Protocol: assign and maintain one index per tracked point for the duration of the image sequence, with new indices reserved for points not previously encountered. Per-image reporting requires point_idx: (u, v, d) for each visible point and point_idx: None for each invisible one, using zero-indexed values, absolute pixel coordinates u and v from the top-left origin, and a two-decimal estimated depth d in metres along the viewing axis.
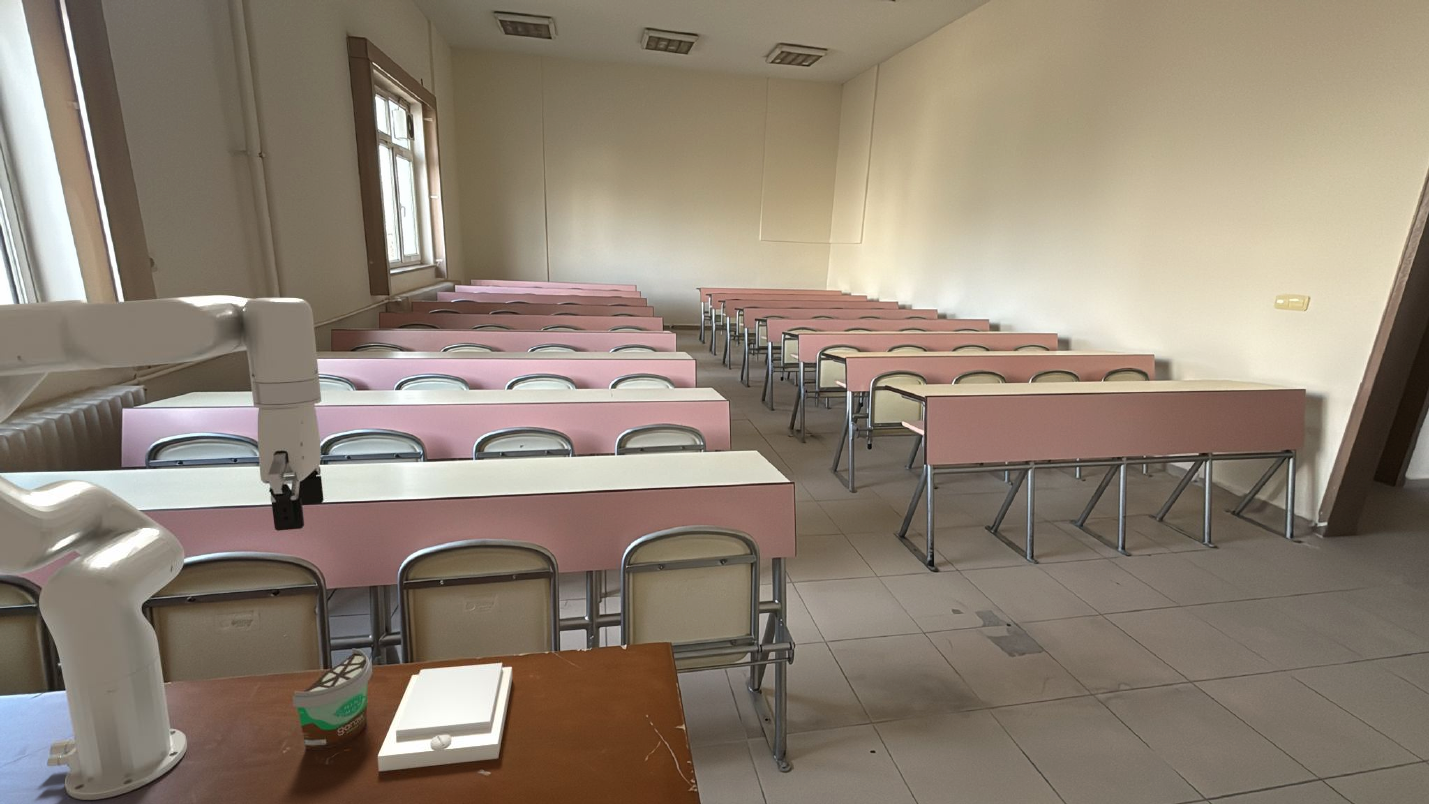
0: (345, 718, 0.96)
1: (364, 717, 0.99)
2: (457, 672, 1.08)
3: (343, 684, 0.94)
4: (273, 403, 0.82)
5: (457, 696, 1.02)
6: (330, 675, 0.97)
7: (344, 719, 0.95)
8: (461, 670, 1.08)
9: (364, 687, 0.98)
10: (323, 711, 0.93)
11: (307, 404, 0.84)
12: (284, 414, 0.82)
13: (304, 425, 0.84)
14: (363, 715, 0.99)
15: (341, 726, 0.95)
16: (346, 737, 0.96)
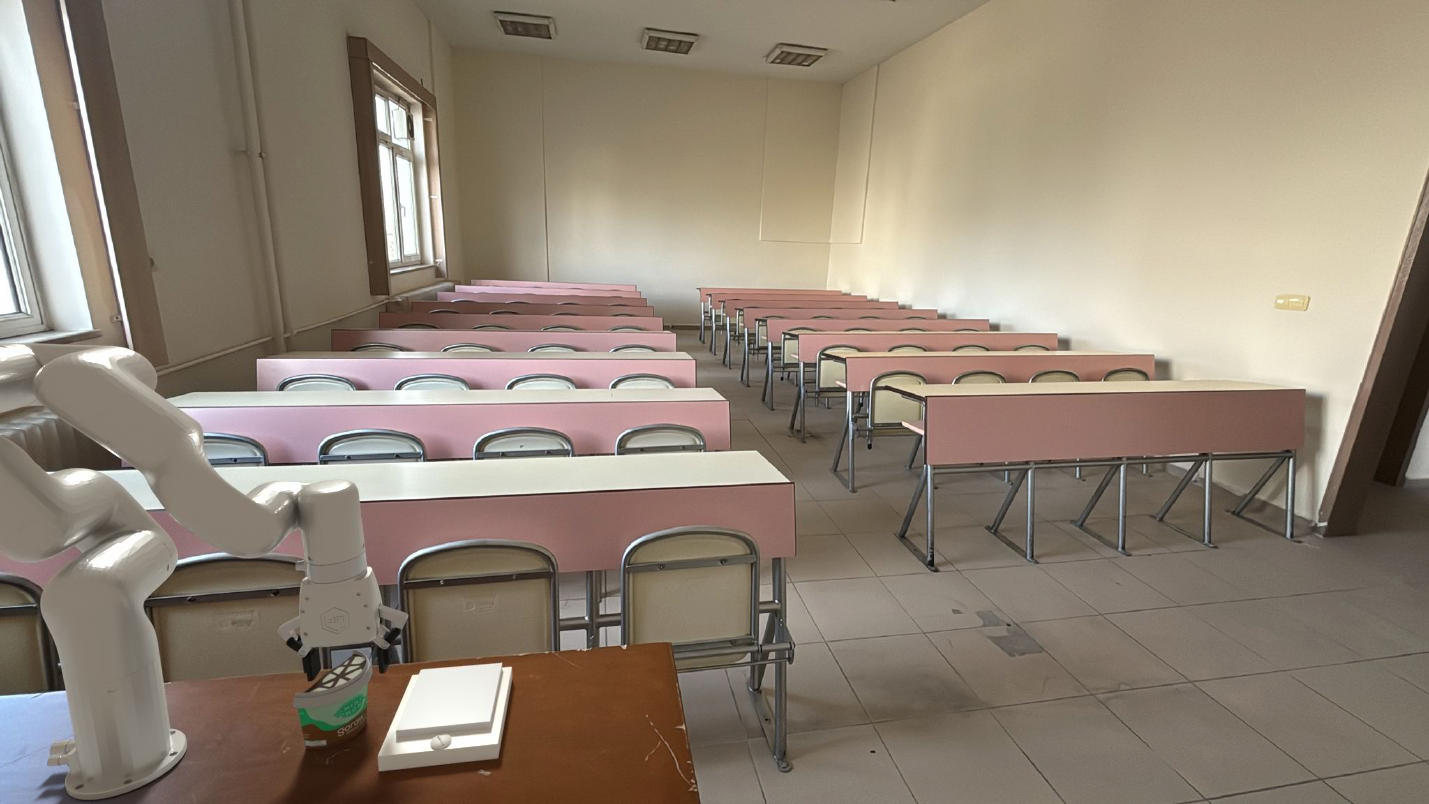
0: (345, 719, 0.96)
1: (364, 718, 0.99)
2: (457, 672, 1.08)
3: (343, 685, 0.94)
4: (364, 570, 0.94)
5: (457, 696, 1.02)
6: (330, 676, 0.97)
7: (344, 720, 0.95)
8: (461, 670, 1.08)
9: (364, 688, 0.99)
10: (323, 712, 0.93)
11: None
12: (373, 573, 0.96)
13: None
14: (363, 716, 0.99)
15: (342, 727, 0.95)
16: (346, 738, 0.96)
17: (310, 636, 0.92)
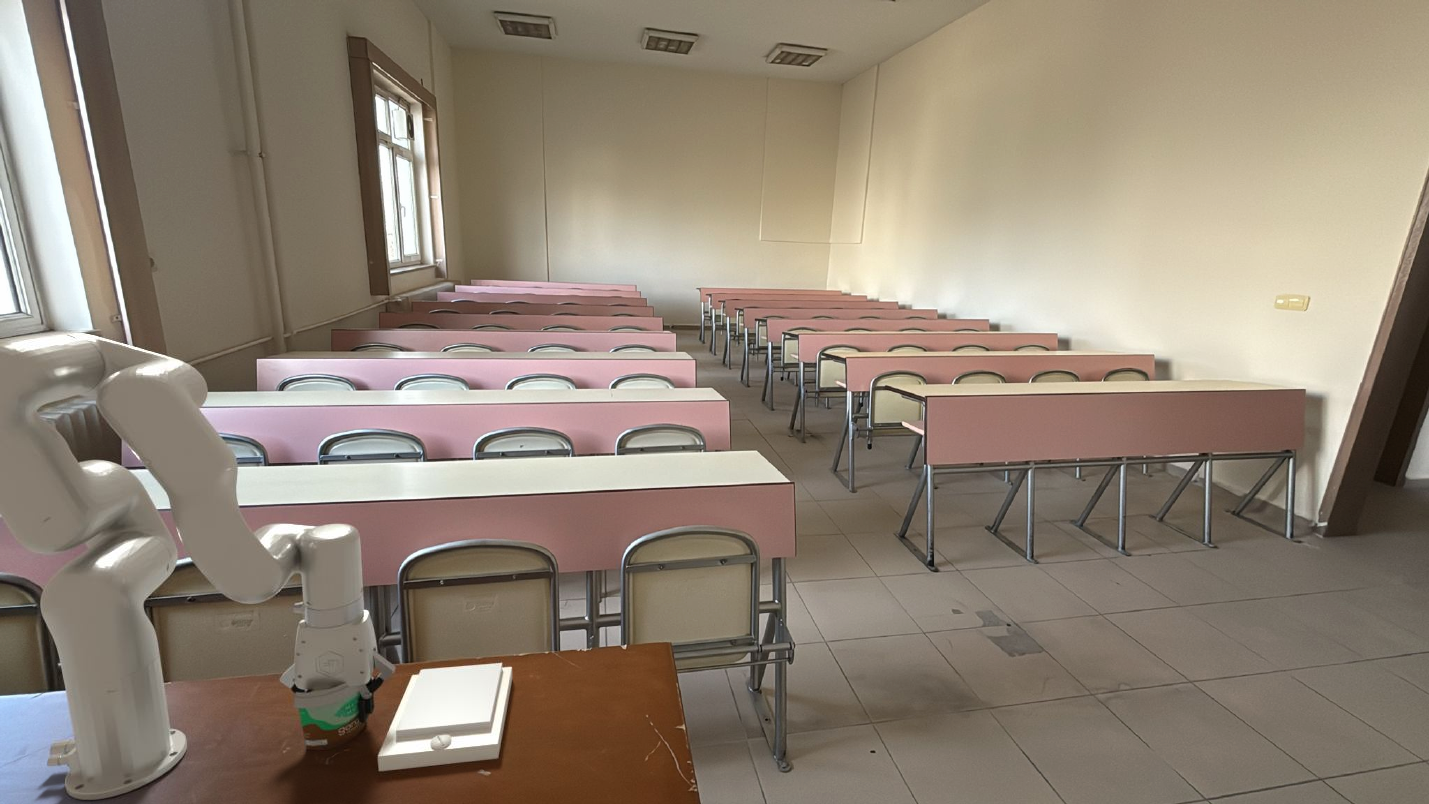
0: (346, 719, 0.96)
1: None
2: (457, 672, 1.08)
3: (345, 684, 0.94)
4: (361, 614, 0.95)
5: (457, 696, 1.02)
6: None
7: (345, 719, 0.95)
8: (461, 670, 1.08)
9: None
10: (325, 712, 0.93)
11: None
12: (369, 617, 0.97)
13: None
14: None
15: (342, 726, 0.95)
16: (347, 737, 0.96)
17: (304, 679, 0.93)
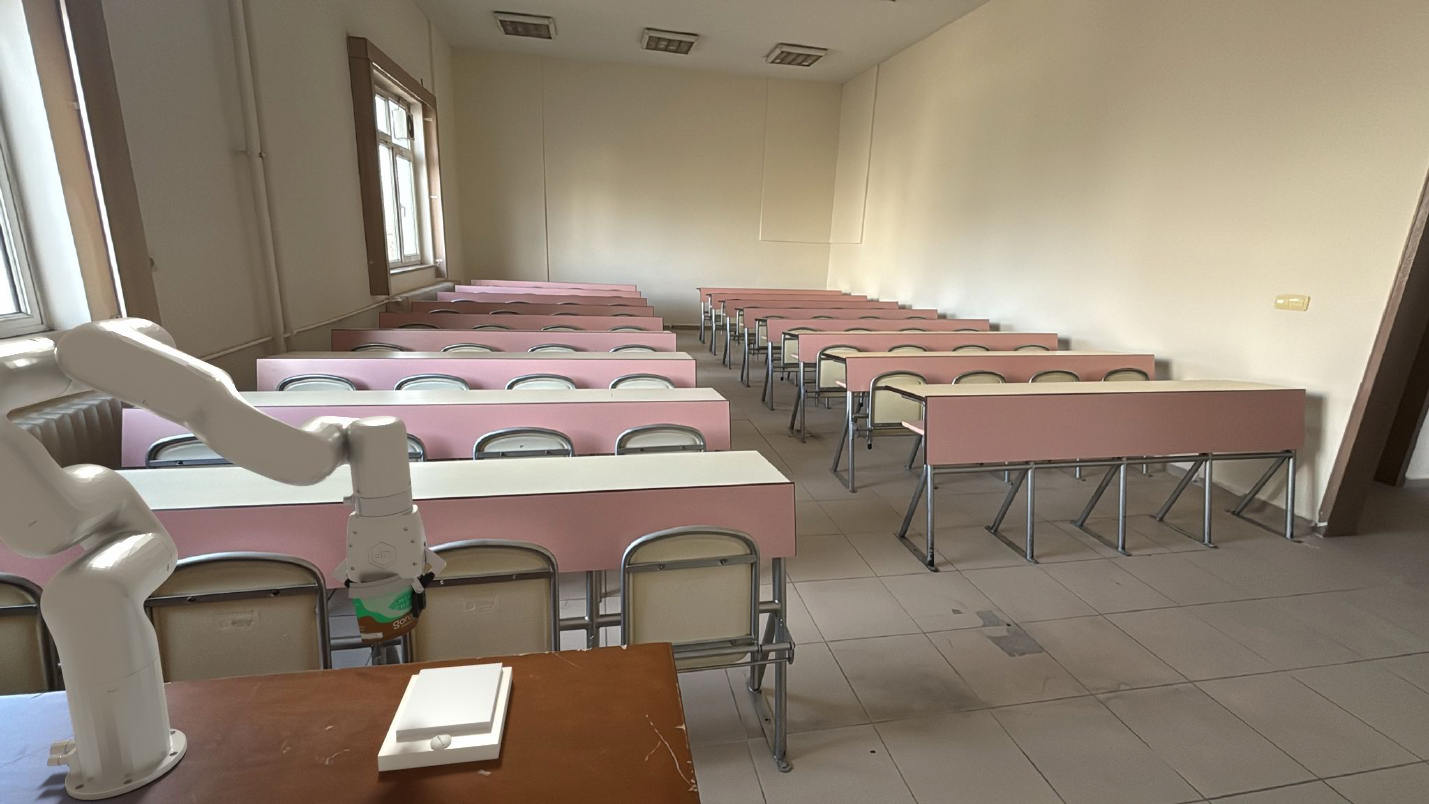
0: (400, 612, 0.95)
1: None
2: (457, 672, 1.08)
3: (397, 576, 0.93)
4: (410, 506, 0.94)
5: (457, 696, 1.02)
6: None
7: (399, 613, 0.95)
8: (461, 670, 1.08)
9: None
10: (379, 603, 0.93)
11: None
12: (418, 511, 0.96)
13: None
14: None
15: (397, 620, 0.95)
16: (401, 631, 0.96)
17: (357, 571, 0.92)
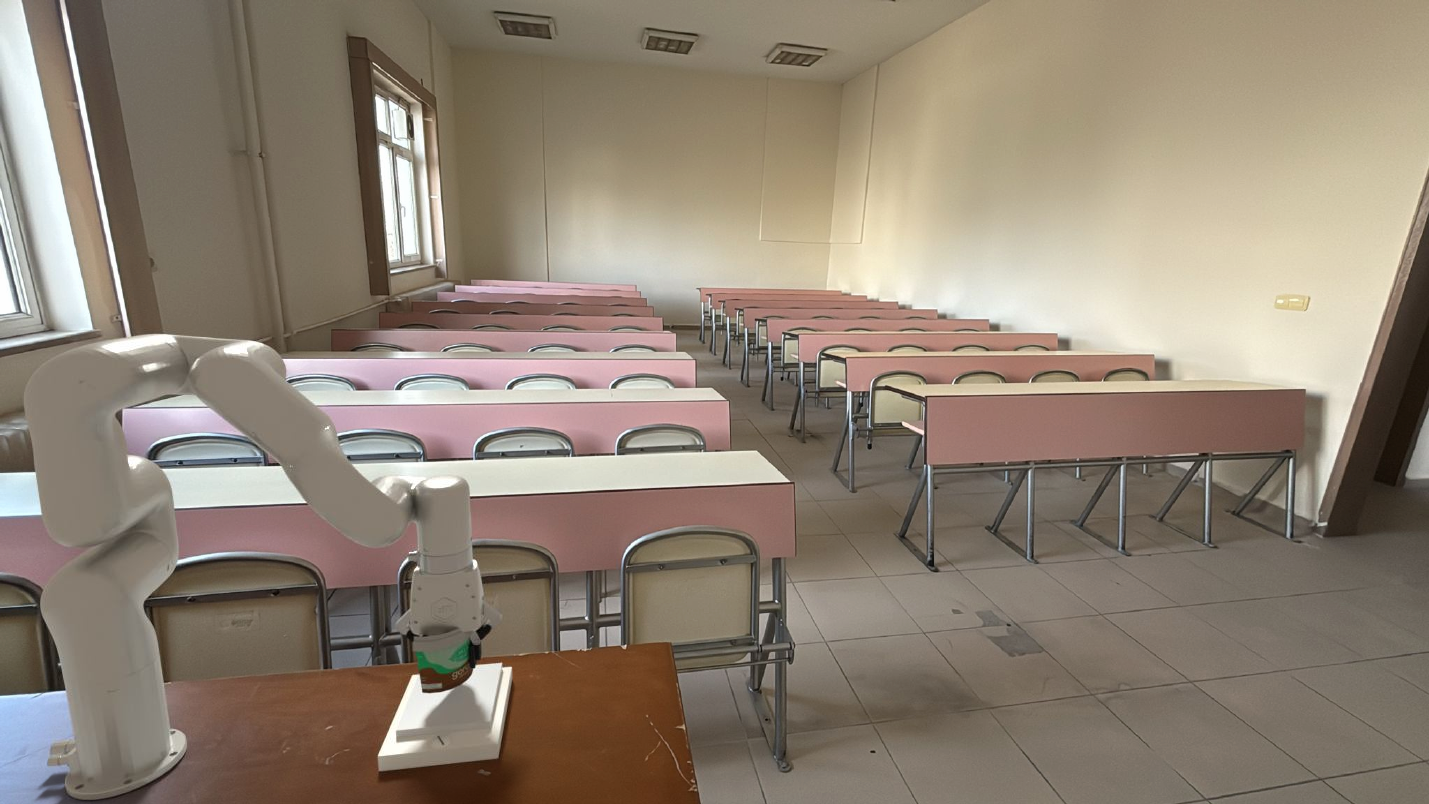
0: (459, 663, 0.99)
1: None
2: None
3: (458, 630, 0.97)
4: (471, 562, 0.98)
5: (457, 696, 1.02)
6: None
7: (458, 664, 0.99)
8: None
9: None
10: (440, 656, 0.97)
11: None
12: None
13: None
14: None
15: (456, 671, 0.99)
16: (459, 681, 1.00)
17: (420, 624, 0.96)
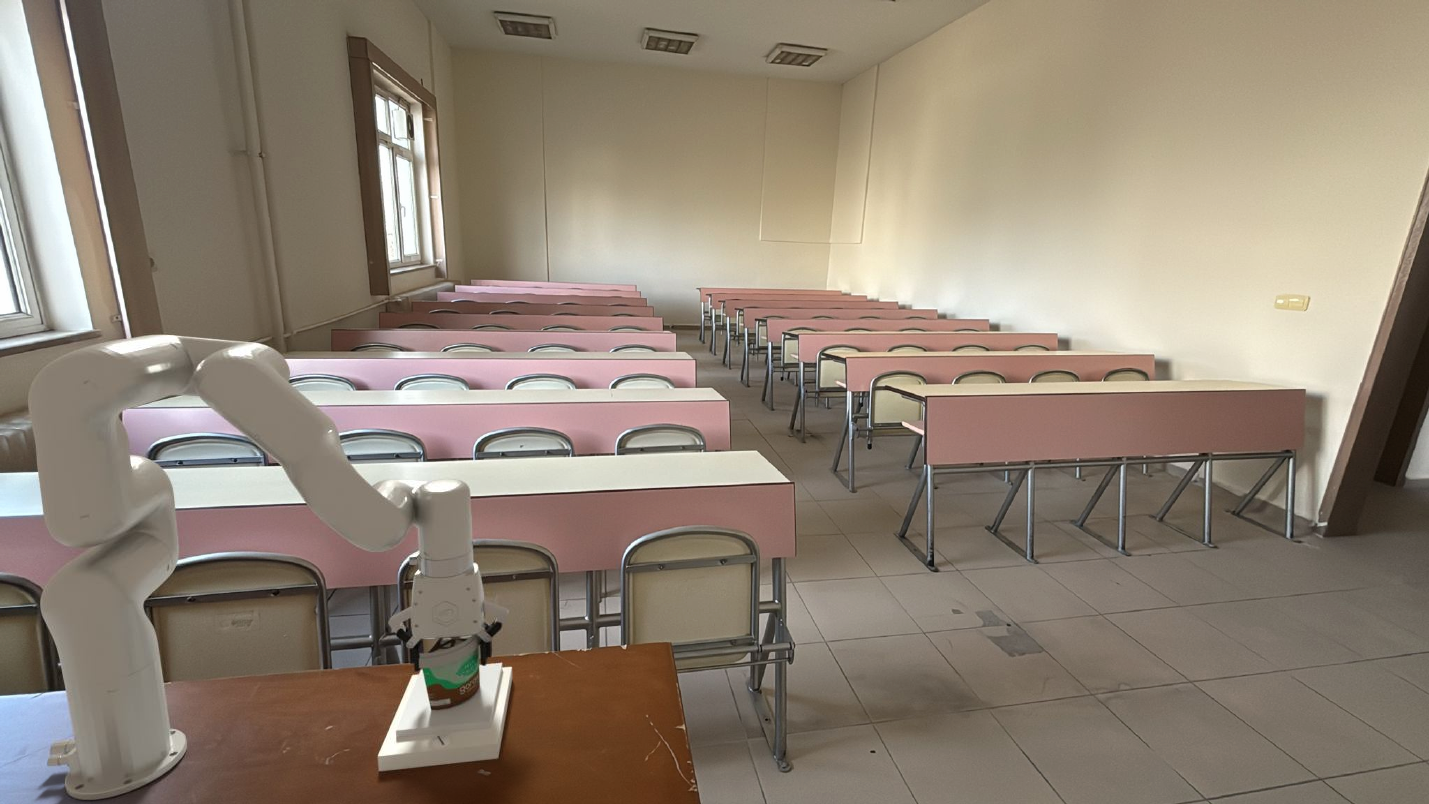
0: (465, 678, 1.00)
1: (479, 677, 1.04)
2: None
3: (463, 643, 0.98)
4: (472, 566, 0.98)
5: None
6: (445, 638, 1.01)
7: (465, 678, 0.99)
8: None
9: (478, 648, 1.03)
10: (447, 671, 0.97)
11: None
12: None
13: None
14: (478, 675, 1.03)
15: (463, 685, 0.99)
16: (467, 696, 1.00)
17: (421, 628, 0.97)
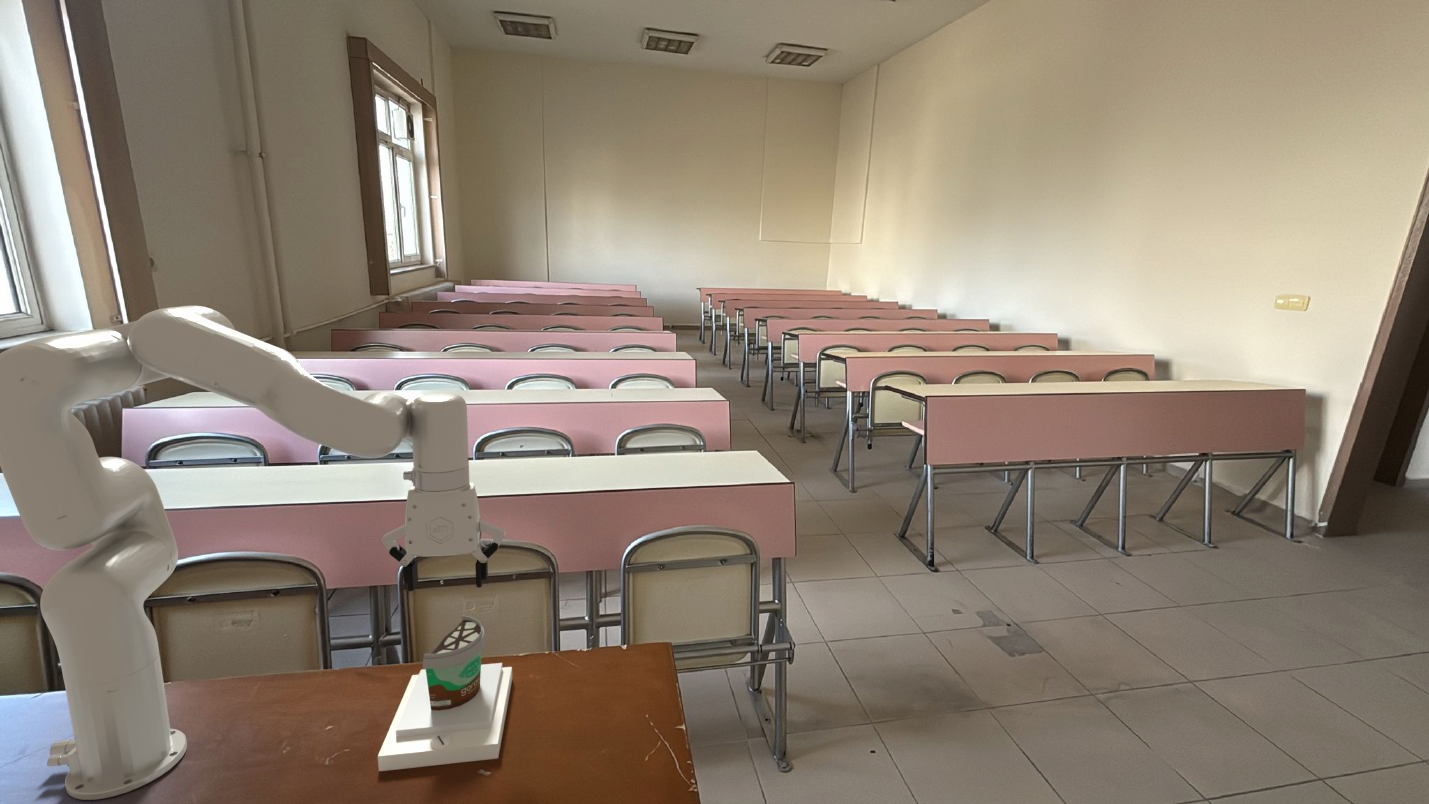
0: (467, 680, 1.00)
1: (479, 679, 1.04)
2: None
3: (467, 646, 0.98)
4: (468, 482, 0.96)
5: None
6: (449, 639, 1.01)
7: (467, 680, 1.00)
8: None
9: (481, 650, 1.03)
10: (450, 672, 0.97)
11: None
12: None
13: None
14: (479, 677, 1.03)
15: (464, 687, 0.99)
16: (467, 698, 1.00)
17: (415, 544, 0.94)
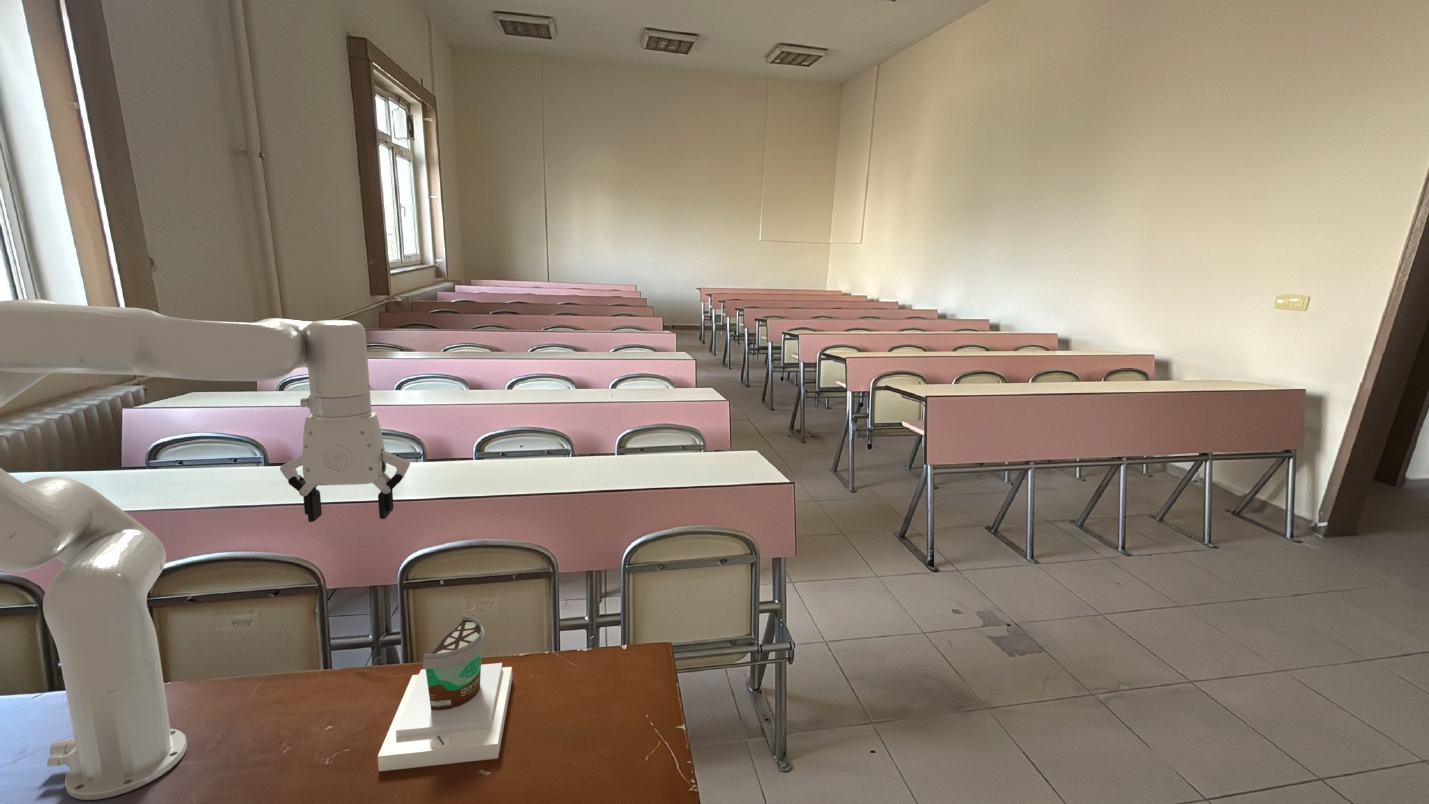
0: (467, 680, 1.00)
1: (479, 679, 1.04)
2: None
3: (467, 646, 0.98)
4: (368, 411, 0.95)
5: None
6: (449, 639, 1.01)
7: (467, 680, 1.00)
8: None
9: (481, 650, 1.03)
10: (450, 672, 0.97)
11: None
12: (377, 418, 0.96)
13: None
14: (479, 677, 1.03)
15: (464, 687, 0.99)
16: (467, 698, 1.00)
17: (312, 472, 0.93)
